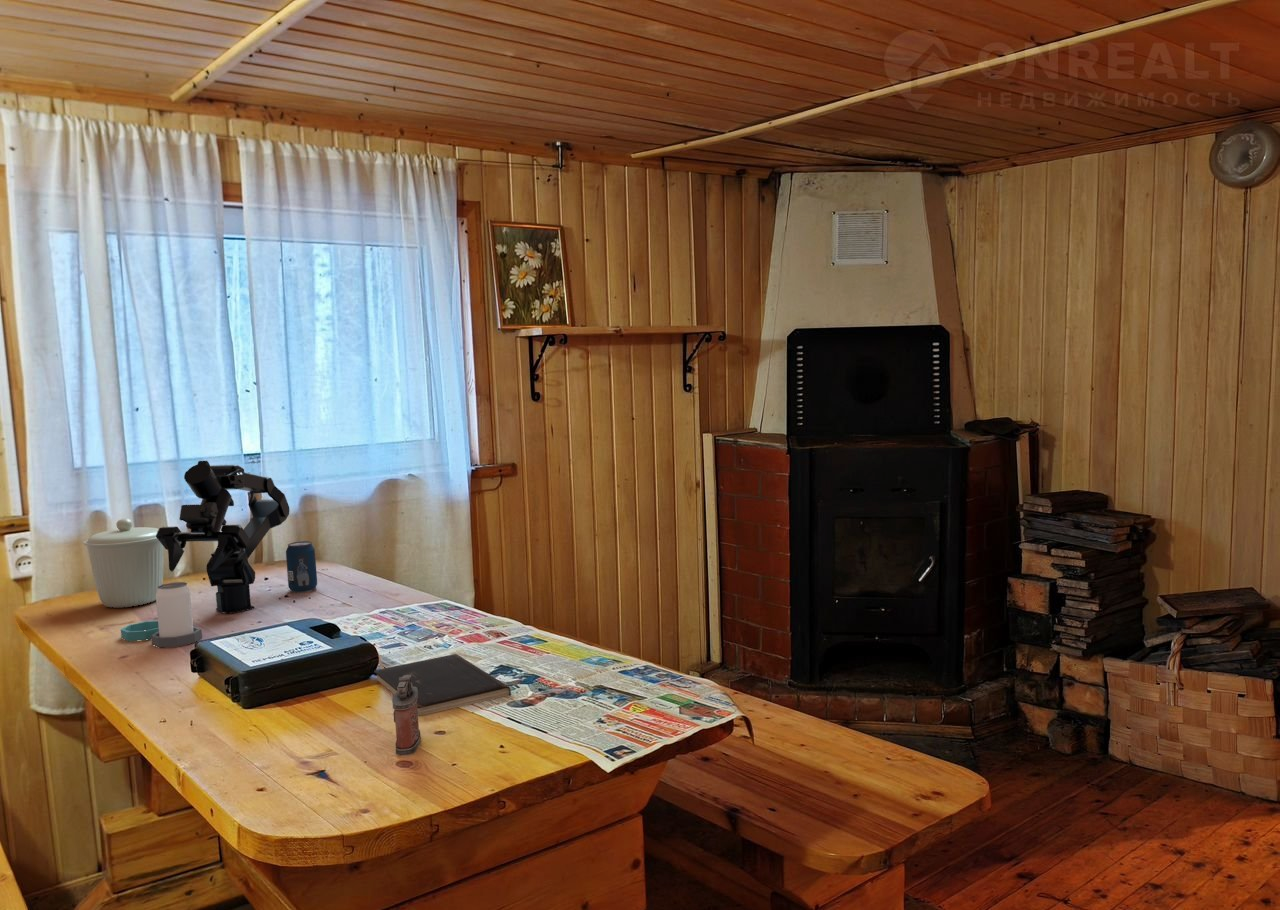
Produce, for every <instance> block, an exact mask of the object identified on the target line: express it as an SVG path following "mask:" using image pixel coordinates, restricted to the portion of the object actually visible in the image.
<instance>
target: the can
mask: <svg viewBox="0 0 1280 910" xmlns="http://www.w3.org/2000/svg"><path fill="white" fill-rule="evenodd" d="M157 588H158V591H157V593H156V600H155V601H156V613H157V621H158V625H159V636H160V637H161V638H162V637H178V636H182V635H186V634H191V633H193V632H194V631H193V626H194V622H193V621H194V620H193V610H192V598H191V590H190V588H189V587H188V583H187V582H185V581H176V582H168V583H162V585H160V586H158V587H157Z"/></svg>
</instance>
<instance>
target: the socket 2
mask: <svg viewBox="0 0 1280 910" xmlns="http://www.w3.org/2000/svg"><path fill="white" fill-rule="evenodd" d="M193 631H194V632H193V633H191V634H186V635H182V636H178V637H162V638H161V637H160V636H159V631H158V632H156V633H155V634H153V635H151V645H152V646H153V645H155V646H154V647H156V646H157V647H156V648H158V647H159V648H158V649H161V648H160V647H169V648H178V646H180V647H183V646H182V645H184V646H188V645H191V643H192V644H196V643H197V642H198V641H200V640H201V639H203V631H202V628H201V627H198V626H196V625H193ZM200 638H201V639H200ZM196 641H197V642H196ZM193 642H194V643H193ZM195 642H196V643H195ZM187 644H188V645H187Z"/></svg>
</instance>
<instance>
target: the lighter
mask: <svg viewBox="0 0 1280 910" xmlns="http://www.w3.org/2000/svg"><path fill="white" fill-rule="evenodd" d="M417 698H418V690H417V687H415V686H412V683H411V675H404V676H403V677H399V685H398V687H397V692H396V693H395V694H393V697H392V709H393V722H394V724H395V738H396V741H395V744H394V745H395V754H396V756H401V757H402V756H404V757H405V756H410V755H412V754H414V753H415V752H416V751H417V750H418V749H419V747H420V745H421V742H422V738H421V737H422V736H421V734H422V733H421V730H420V729H419V726H420V725H419V714H418V710H417Z"/></svg>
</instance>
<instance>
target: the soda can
mask: <svg viewBox="0 0 1280 910" xmlns="http://www.w3.org/2000/svg"><path fill="white" fill-rule="evenodd" d="M285 558H286V561H285V562H286V570H287V571H286V572H287V573H286V574H287V586H288V587H287V588H289V590H290V592H292V593H294V594H298V593H299V594H300V593H301V594H302V593H309V592H312V591H315V589H316V587H317V586H318V577H317V562H316V559H317V558H316V549H315V547H314V545H313V543H312V541H308V540H306V541H305V540H304V541H294V542H290V543H288V544H287V547H286V550H285Z"/></svg>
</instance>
